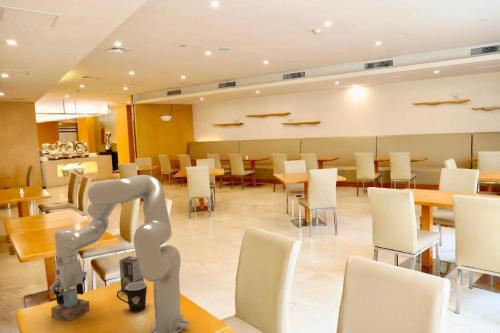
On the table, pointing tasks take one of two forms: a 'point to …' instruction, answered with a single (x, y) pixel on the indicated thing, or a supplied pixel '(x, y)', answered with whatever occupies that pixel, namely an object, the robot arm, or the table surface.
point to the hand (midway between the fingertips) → (70, 298)
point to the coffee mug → (135, 296)
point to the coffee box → (129, 272)
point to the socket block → (70, 311)
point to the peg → (70, 298)
